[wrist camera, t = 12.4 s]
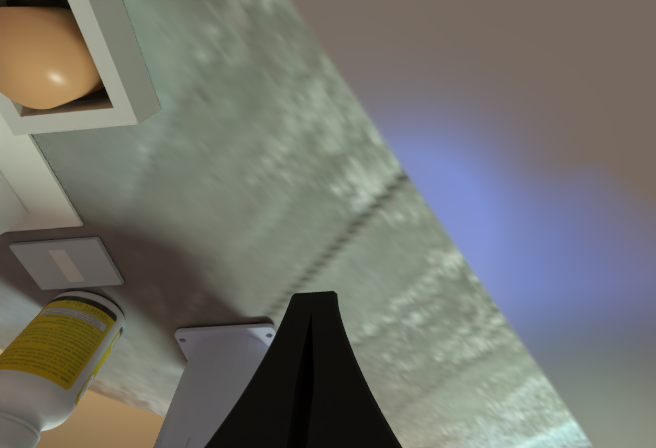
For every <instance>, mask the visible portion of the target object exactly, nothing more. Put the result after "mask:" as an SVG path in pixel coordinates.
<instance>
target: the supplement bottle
mask: <svg viewBox="0 0 656 448" xmlns="http://www.w3.org/2000/svg"><path fill="white" fill-rule="evenodd" d="M124 328H125V318H124V316H123V314H122V312H121V311H120V310H119V308H118V307H117V306H116V305H114V304H113V303H112V302H110V301H109V300H107V299H106V298H104V297H102V296H99V295H97V294H93V293H89V292H84V291H70V292H65V293H62V294H59V295H58V296H56V297H55V298H54V299H53V300H51V301H50V302H49V303H48V304H47V306H45V307H44V308H43V310H42V311H41V312H40V313H39V314H38V315H37V316H36V317H35V318H34V319H33V320H32V321H31V322H30V323H29V325H28V326H27V327H26V328H25V329H24V330H23V331H22V332H21V333H20V334H19V336H18V337H17V338H16V339H15V340H14V341H13V342H12V343H11V344H10V345H9V346H8V347H7V348H6V349H5V350H4V352H3V353H2V354H1V355H0V448H35V447H36V445H37V443H38V441H39V440H40V437H41V435H40V431H44V430H49V429H52V428H55V427H57V426H59V425H60V424H62V423H63V422H64V421H66V419H67V418H68V417H69V416H70V415H71V413H72V412H73V410H74V409H75V407H76V406H77V404H78V402H79V401H80V399H81V397H82V396H83V395H84V393H85V391H86V390H87V388H88V387H89V385H90V383H91V382H92V380H93V379H94V377H95V376H96V374H97V372H98V371H99V369H100V368H101V366H102V364H103V363H104V361H105V360H106V358H107V357H108V355H109V353H110V352H111V350H112V349H113V347H114V346H115V344H116V343H117V341H118V339H119V338H120V336H121V334H122V333H123V331H124Z"/></svg>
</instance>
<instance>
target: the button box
mask: <svg viewBox="0 0 656 448" xmlns="http://www.w3.org/2000/svg"><path fill="white" fill-rule="evenodd" d="M5 1H11V0H0V7H8V6H7V4H6V2H5ZM68 2H69V5H70V7H71V9H72V12H73V14H74V16H75V19H76V21H77V23H78V26H79V28H80V30H81V33H82V35H83V37H84V40H85V42H86V44H87V46H88V49H89V51H90V53H91V56H92V58H93V60H94V63H95V65H96V67H97V70H98V72H99V74H100V77H101V79H102V81H103V84H104V86H105V88H106V91H107V93H108V95H109V98H106V99H96V100H85V101H75V102H67V103H65V104H62V105H59V106H57V107H54V108H50V109H34V108H29V107H26V106H23V105H21V104H19V103H16V102H14V101H13V100H11V99H9V98H8V97H6V96H5V95H3V94H2V93H1V92H0V113H1V115H2V117H3V118H4V120H5V121H6V123H7V125H8V126H9V128H10V130H11V131H12V133H13V134H14V136H16V135H27V134H37V133H48V132H59V131H70V130H81V129H91V128H102V127H113V126H124V125H135V124H139V123H141V122H143V121H144V120H146V119H147V118H149V117H150V116H152V115H154V114H155V113H157V112H158V111H160V110H161V108H160V105H159V102H158V100H157V97H156V94H155V91H154V88H153V85H152V83H151V80H150V77H149V74H148V71H147V69H146V66H145V63H144V60H143V57H142V54H141V52H140V49H139V46H138V43H137V40H136V38H135V35H134V32H133V29H132V26H131V24H130V21H129V18H128V15H127V12H126V9H125V7H124V4H123V1H122V0H68Z"/></svg>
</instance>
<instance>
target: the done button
mask: <svg viewBox="0 0 656 448" xmlns="http://www.w3.org/2000/svg"><path fill="white" fill-rule="evenodd" d="M103 87H104V84H103V81H102V79H101V77H100V74H99V72H98V70H97V67H96V65H95V63H94V60H93V58H92V56H91V53H90V51H89V49H88V46H87V44H86V42H85V40H84V37H83V35H82V33H81V30H80V28H79V26H78V23H77V21H76V19H75V16H74V14H73V12H72V11H71V10H68V9H66V8H62V7H55V6H51V7H0V92H1V93H2V94H3V95H5V96H6V97H8V98H9V99H11V100H13V101H14V102H16V103H19V104H21V105H23V106H26V107H29V108H34V109H50V108H54V107H57V106H59V105H62V104H65V103H67V102H70V101H72V100H75V99H78V98H80V97H83V96H86V95H88V94H91V93H94V92H96V91H99V90H100V89H102V88H103Z"/></svg>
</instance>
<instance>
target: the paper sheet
mask: <svg viewBox="0 0 656 448" xmlns="http://www.w3.org/2000/svg"><path fill="white" fill-rule="evenodd" d="M0 172H1V174H2V175H3V177H4V178H5V180H6V181H7V182H8V184H9V185H10V187H11V188H12V190H13V191H14V193H15V194H16V196H17V197H18V199H19V200H20V202H21V203H22V205H23V206H24V208H25V209H26V211H27V212H28V214H29V215H28V216H27V217H25V218H24V219H22V220H21V221H20V222H18V223H17V224H15V225H14V226H12V227H11V228H10V229H8V230H7V231H5V232H12V231H25V230H38V229H51V228H64V227H77V226H83V225H84V224H83V222H82V220H81V219H80V217H79V215H78V214H77V212H76V210H75V208H74V207H73V205H72V203H71V202H70V200H69V198H68V196H67V195H66V193H65V191H64V190H63V188H62V186H61V184H60V183H59V181H58V179H57V178H56V176H55V174H54V173H53V171H52V169H51V167H50V166H49V164H48V162H47V161H46V159H45V157H44V155H43V154H42V152H41V150H40V149H39V147H38V145H37V144H36V142H35V140H34V138H33V137H32V135H31V134H27V135H16V136H14V134H13V133H12V131H11V130H10V128H9V126H8V125H7V123H6V121H5V120H4V118H3V117H2V115H1V113H0Z"/></svg>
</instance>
